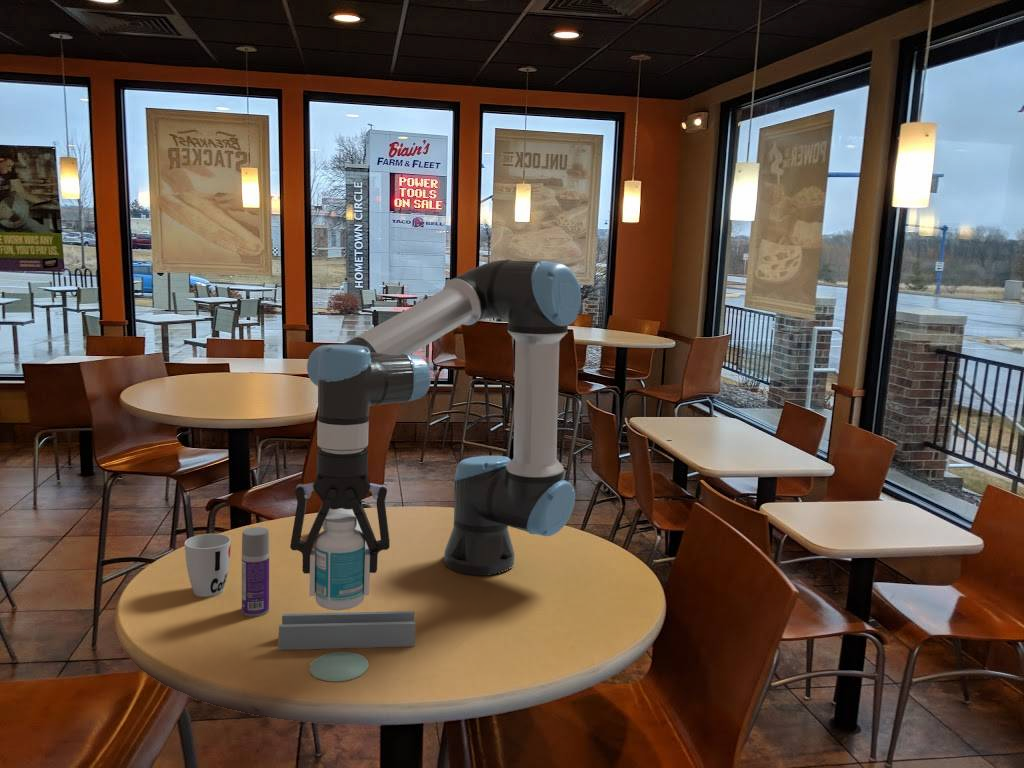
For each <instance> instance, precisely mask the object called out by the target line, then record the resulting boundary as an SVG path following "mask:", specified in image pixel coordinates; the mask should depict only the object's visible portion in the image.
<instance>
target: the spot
mask: <svg viewBox="0 0 1024 768" xmlns="http://www.w3.org/2000/svg"><path fill="white" fill-rule="evenodd" d="M368 668H369V662H368V660H367V658H366V657H365V656H362V655H361V654H358V653H355V652H349V651H336V652H335V651H334V652H329V653H326V654H322V655H320V656H319V657H316V658H315V659H313V660H312V661H311V663H310V665H309V672H310V674H311V675H312V676H313V677H314V678H316V679H318V680H320V681H324V682H332V683H337V682H338V683H341V682H348V681H352V680H354V679H357V678H359V677H361V676H362V675H364V674H365V673H366V672H367V671H368Z"/></svg>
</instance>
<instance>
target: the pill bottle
mask: <svg viewBox="0 0 1024 768" xmlns="http://www.w3.org/2000/svg"><path fill="white" fill-rule="evenodd" d="M356 525H357V519H356V517H355V516H353V515H349V514H335V515H331V516H328V517H326V519H325V527H326V530H324V529H323V531H320V532H319V534H318V536H317V538H316V540H315V549H316V592H315V602H316V604H317V605H318V606H320V607H321V608H323V609H325V610H330V611H344V610H346V611H347V610H350V609H353V608H357V607H358V606H359V605H361V603H362V602H363V601H364V599H365V595H364V571H365V538H364V536H363V533H362V532H360V531H359V530H357V529H355V528H356Z"/></svg>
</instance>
